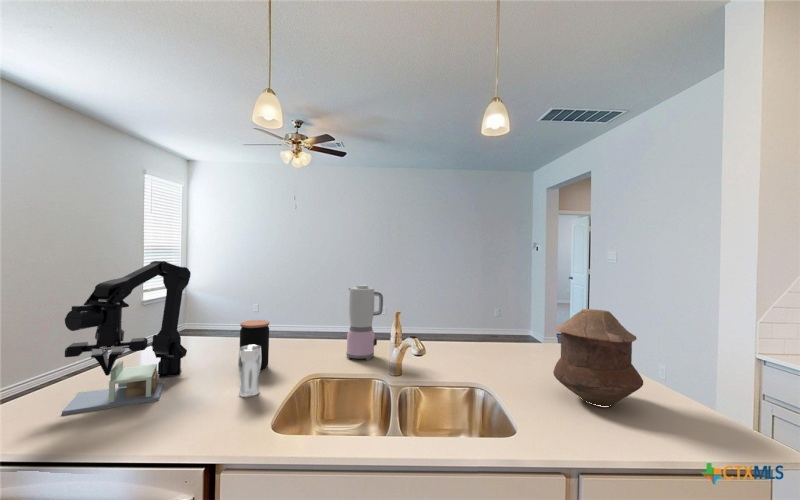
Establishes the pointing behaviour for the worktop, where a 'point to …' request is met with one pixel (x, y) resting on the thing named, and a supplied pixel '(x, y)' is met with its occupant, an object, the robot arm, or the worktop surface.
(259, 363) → the beer glass
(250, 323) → the coffee jar
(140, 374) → the hood
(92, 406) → the grey base plate
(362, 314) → the blender
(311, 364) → the worktop surface
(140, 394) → the sleeve
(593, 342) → the pottery vessel
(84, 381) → the worktop surface
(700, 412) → the worktop surface
